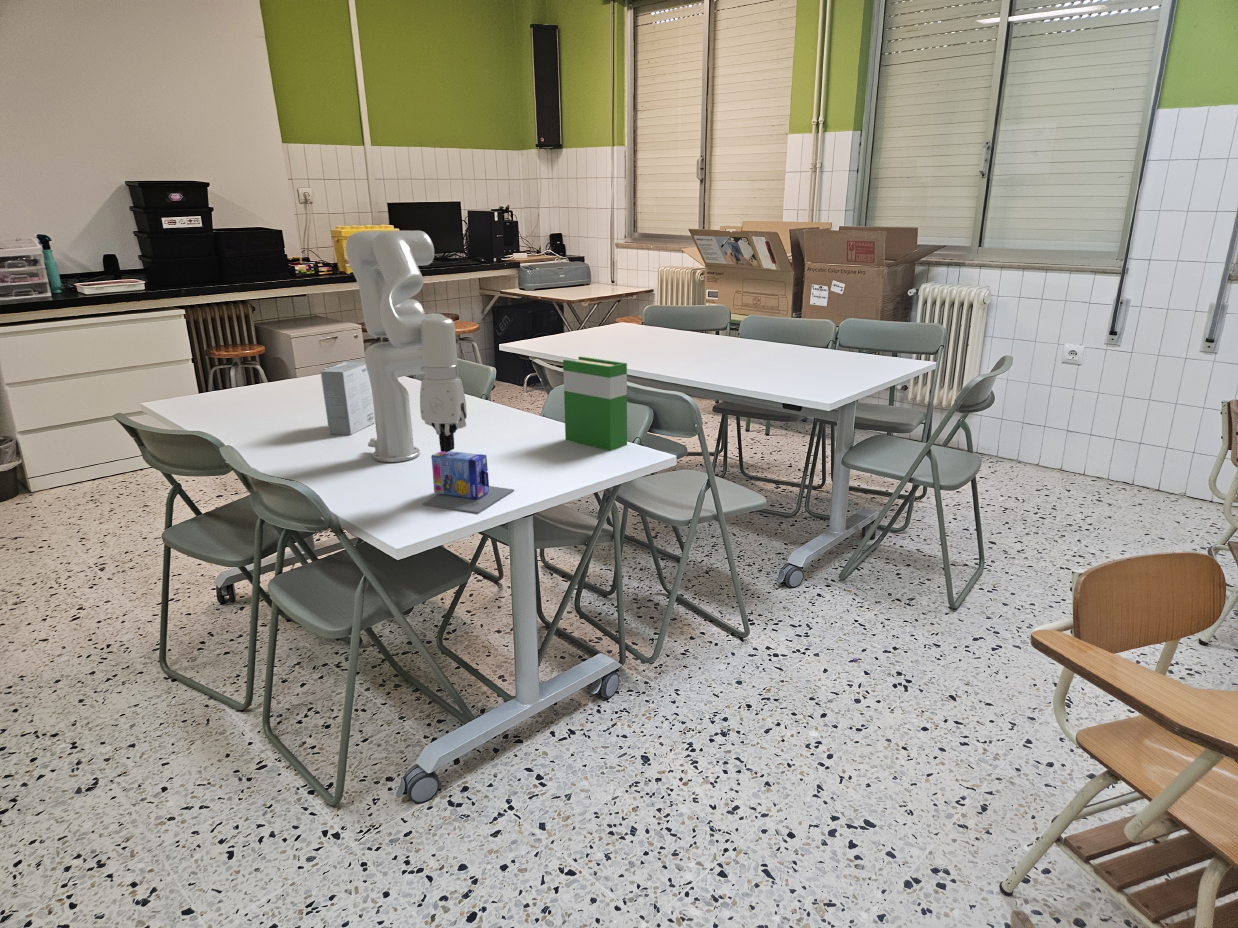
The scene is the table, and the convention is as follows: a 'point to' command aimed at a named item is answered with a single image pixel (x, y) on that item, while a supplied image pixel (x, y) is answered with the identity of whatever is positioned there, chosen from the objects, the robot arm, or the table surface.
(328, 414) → the hard drive box
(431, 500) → the mat
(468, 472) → the ink cartridge box
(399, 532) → the table surface
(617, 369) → the hardback book
